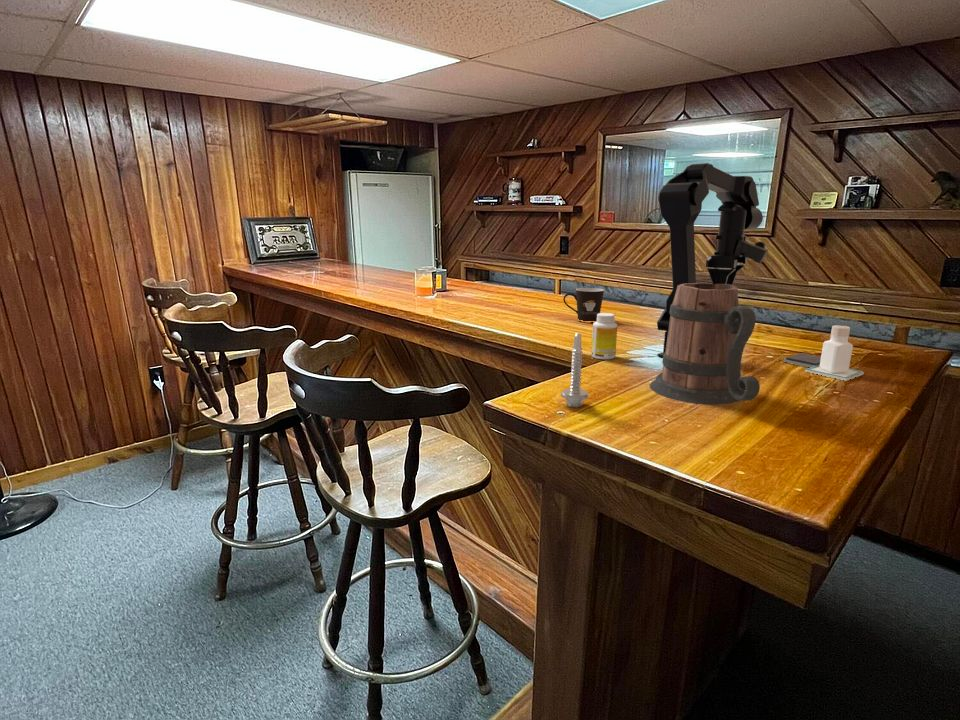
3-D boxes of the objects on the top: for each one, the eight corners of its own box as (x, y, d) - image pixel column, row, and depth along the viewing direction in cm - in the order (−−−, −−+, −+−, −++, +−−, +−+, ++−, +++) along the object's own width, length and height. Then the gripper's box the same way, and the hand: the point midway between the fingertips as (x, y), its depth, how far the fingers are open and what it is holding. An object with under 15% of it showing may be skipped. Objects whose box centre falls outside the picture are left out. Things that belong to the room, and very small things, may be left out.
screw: (580, 399, 96) (593, 408, 92) (555, 401, 95) (567, 411, 91) (584, 329, 93) (597, 334, 88) (558, 330, 92) (571, 336, 87)
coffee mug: (606, 320, 169) (607, 289, 167) (596, 324, 162) (598, 292, 160) (571, 316, 175) (573, 286, 173) (561, 321, 168) (562, 289, 166)
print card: (846, 381, 107) (846, 377, 107) (804, 371, 113) (804, 368, 113) (863, 374, 111) (863, 371, 111) (821, 366, 118) (822, 363, 118)
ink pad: (815, 369, 115) (816, 364, 115) (782, 362, 121) (783, 357, 120) (832, 363, 120) (833, 358, 119) (800, 357, 125) (800, 352, 125)
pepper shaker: (849, 373, 111) (857, 328, 108) (832, 374, 110) (840, 329, 108) (834, 367, 114) (841, 324, 112) (817, 368, 114) (825, 325, 111)
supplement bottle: (620, 359, 124) (623, 315, 121) (599, 361, 122) (602, 317, 119) (606, 353, 129) (609, 311, 126) (586, 355, 127) (588, 313, 124)
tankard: (633, 379, 108) (641, 281, 103) (707, 374, 112) (718, 278, 106) (704, 421, 86) (718, 298, 81) (793, 413, 89) (813, 295, 84)
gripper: (761, 232, 118) (752, 302, 122) (773, 230, 133) (765, 292, 137) (709, 231, 124) (701, 297, 129) (725, 229, 139) (718, 289, 143)
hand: (723, 294), depth 134 cm, fingers open, 9 cm apart
